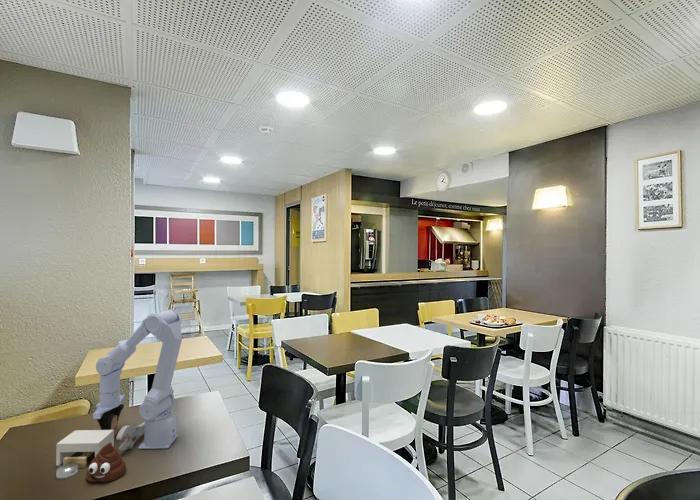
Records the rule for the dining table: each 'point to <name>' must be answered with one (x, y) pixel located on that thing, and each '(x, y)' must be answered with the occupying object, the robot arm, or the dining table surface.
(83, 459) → the push blade
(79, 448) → the white step stool
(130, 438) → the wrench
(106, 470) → the poop emoji
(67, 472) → the steel token
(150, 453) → the dining table surface
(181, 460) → the dining table surface
